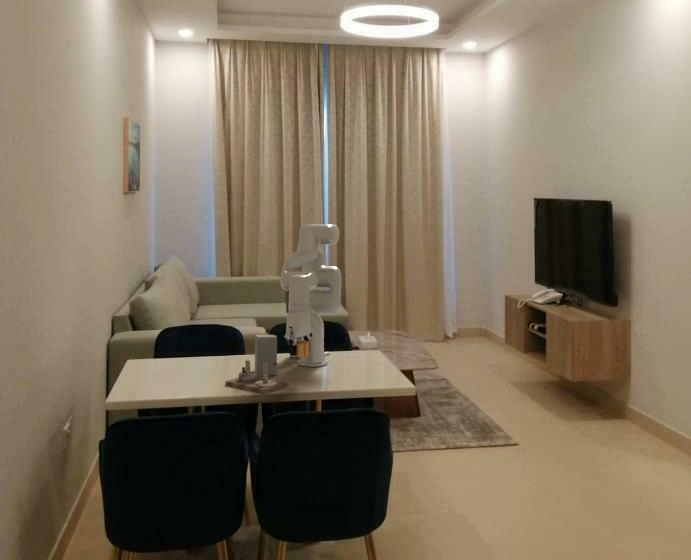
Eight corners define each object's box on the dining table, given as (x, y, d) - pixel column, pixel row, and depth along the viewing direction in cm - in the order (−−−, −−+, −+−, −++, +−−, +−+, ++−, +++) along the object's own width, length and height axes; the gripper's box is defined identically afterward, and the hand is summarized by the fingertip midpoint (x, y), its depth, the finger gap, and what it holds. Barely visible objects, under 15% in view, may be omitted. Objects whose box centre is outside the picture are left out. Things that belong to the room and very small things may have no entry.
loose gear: (298, 351, 268) (298, 339, 267) (313, 354, 264) (313, 341, 263) (286, 355, 262) (286, 342, 262) (301, 358, 258) (300, 345, 257)
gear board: (225, 384, 261) (225, 361, 260) (249, 377, 271) (249, 355, 270) (264, 393, 249) (264, 369, 248) (288, 386, 260) (287, 362, 259)
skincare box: (256, 377, 273) (256, 337, 271) (254, 372, 280) (253, 334, 278) (278, 375, 275) (277, 336, 273) (275, 371, 282) (274, 333, 280)
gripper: (306, 302, 269) (306, 346, 272) (276, 309, 255) (277, 356, 258) (321, 304, 265) (321, 349, 268) (291, 312, 251) (292, 359, 254)
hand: (299, 352), depth 263 cm, fingers closed on loose gear, 7 cm apart
